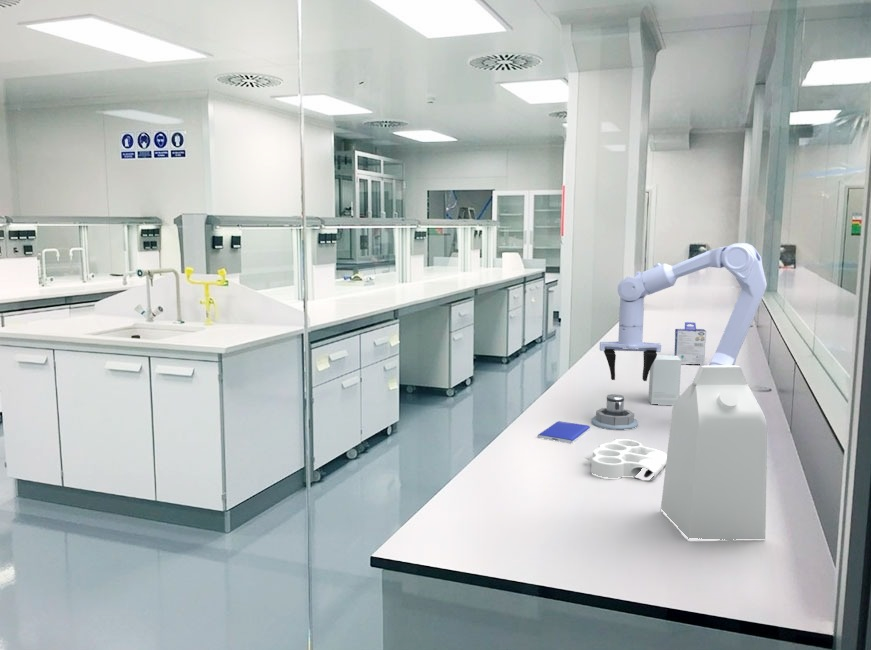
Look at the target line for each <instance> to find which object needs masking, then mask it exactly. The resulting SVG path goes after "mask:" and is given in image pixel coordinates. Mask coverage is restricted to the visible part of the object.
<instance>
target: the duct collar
mask: <svg viewBox="0 0 871 650" xmlns="http://www.w3.org/2000/svg"><path fill="white" fill-rule="evenodd" d="M606 409H607V407H602V408H599V409H598V410H596V411H595V416H593V417H592V418H591V425H593V426H595V427H597V428H600V427H601V428H600V429H604V428H606V430H610V429H616V430H615V431H625V430H624V429H631V430H633V429H632V428H635V427H637V426H638V427H639V421H638V420H637V419H636V418H635V413H634V412H632V411H631V410H629V409H623V416H611V415H606ZM638 427H637V428H638ZM635 429H636V428H635Z"/></svg>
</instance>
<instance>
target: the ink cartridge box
mask: <svg viewBox="0 0 871 650" xmlns="http://www.w3.org/2000/svg"><path fill="white" fill-rule="evenodd" d="M690 325H692V326H690ZM674 331H675V332H674V333H675V334H674V354H673V356H678V357H679V358H680V360H681V365H686V364H700V365H699V366H705V360H706V359H705V358H706V357H705V356H706V343H707V342H706V341H707V330H705V329H703V328H697V325H696V322H691V321H690V322H688V321H687V322H684V328H675V330H674Z"/></svg>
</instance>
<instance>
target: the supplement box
mask: <svg viewBox="0 0 871 650" xmlns="http://www.w3.org/2000/svg"><path fill="white" fill-rule="evenodd" d="M681 369H682V364H681V360H680V358H679V357H678V356H674V355H671V354H670V355H666V354H663V355H661V354H657V357H656V359H655V360H654V362H653V364H652V366H651V368H650V371H649V378H648V379H649V380H648V384H649V385H648V396H647V397H648V398H649V399H648V400H649V402H650V404H651V405H652V404H658V405H657V406H666V405H672V406H671V407H673V406H674V403H675V402H676V400H677V399H678V398H679V397H680V389H681V373H682V371H681Z"/></svg>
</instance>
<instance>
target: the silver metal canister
mask: <svg viewBox="0 0 871 650" xmlns="http://www.w3.org/2000/svg"><path fill="white" fill-rule="evenodd" d="M624 405H625V396H624V395H622V394H617V393H615V394H607V395H606V408H607V409H606V415H611V416H623V409H624Z"/></svg>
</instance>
